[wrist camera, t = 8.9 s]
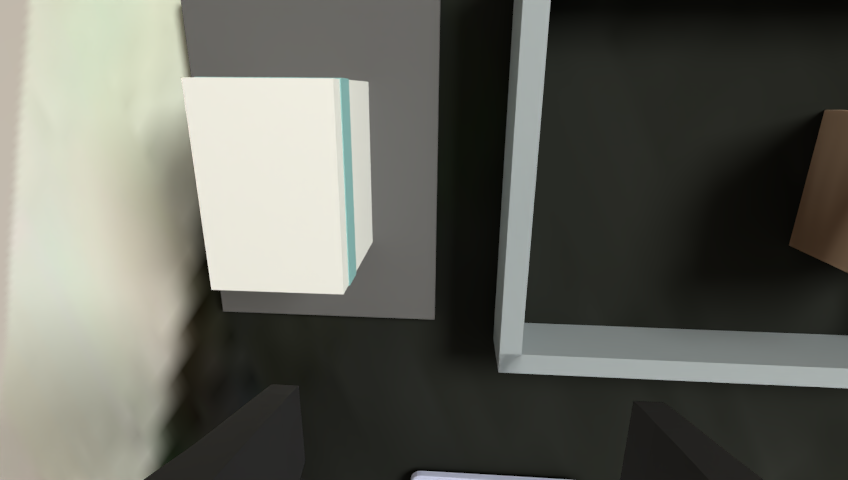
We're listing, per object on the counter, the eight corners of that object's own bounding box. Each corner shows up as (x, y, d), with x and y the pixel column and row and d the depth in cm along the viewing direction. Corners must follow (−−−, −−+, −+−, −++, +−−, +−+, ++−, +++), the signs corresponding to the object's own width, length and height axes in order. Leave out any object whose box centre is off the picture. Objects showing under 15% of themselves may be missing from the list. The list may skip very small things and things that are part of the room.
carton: (369, 80, 17) (333, 77, 12) (373, 242, 18) (344, 295, 14) (257, 79, 17) (179, 76, 12) (273, 239, 19) (210, 290, 14)
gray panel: (435, 315, 20) (434, 319, 19) (227, 307, 20) (223, 311, 20) (440, -1, 16) (440, -3, 16) (186, 0, 17) (180, -2, 16)
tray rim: (917, 356, 19) (984, 394, 16) (493, 338, 20) (498, 372, 17) (1067, -38, 15) (1187, -64, 12) (516, -34, 16) (526, -57, 13)
